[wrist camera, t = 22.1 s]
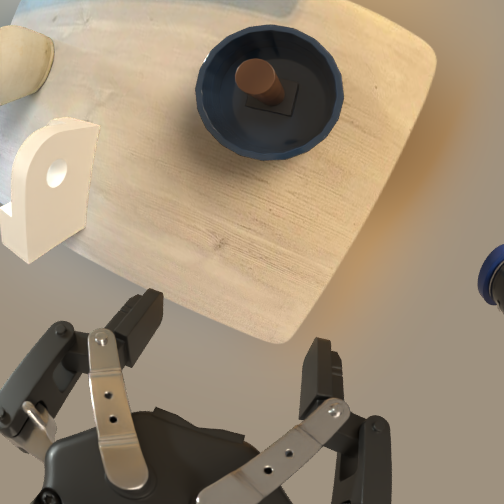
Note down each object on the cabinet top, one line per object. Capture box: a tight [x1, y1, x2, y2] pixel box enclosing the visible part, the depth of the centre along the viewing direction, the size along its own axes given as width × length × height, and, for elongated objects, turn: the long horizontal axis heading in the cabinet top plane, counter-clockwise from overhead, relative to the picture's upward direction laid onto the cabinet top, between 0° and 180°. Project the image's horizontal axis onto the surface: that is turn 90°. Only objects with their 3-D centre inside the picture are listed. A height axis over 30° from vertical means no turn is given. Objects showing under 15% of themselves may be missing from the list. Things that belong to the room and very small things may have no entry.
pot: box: [195, 25, 344, 161], centre depth 26 cm, size 14×14×7 cm
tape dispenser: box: [0, 117, 100, 264], centre depth 32 cm, size 18×12×14 cm, turn 159°
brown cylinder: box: [235, 59, 299, 117], centre depth 23 cm, size 5×4×14 cm
